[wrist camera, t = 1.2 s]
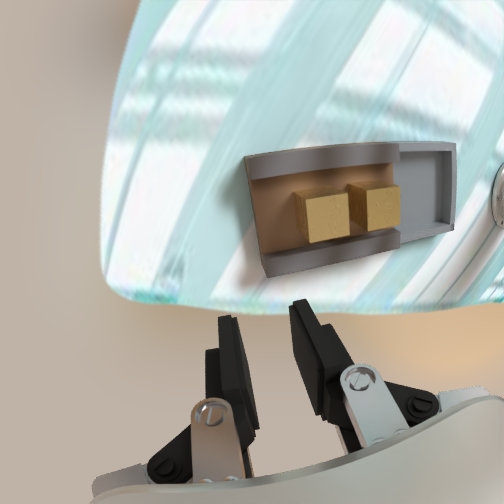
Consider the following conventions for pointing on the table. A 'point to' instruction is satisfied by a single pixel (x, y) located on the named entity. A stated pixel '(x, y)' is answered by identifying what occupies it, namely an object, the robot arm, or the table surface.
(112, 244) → the table surface
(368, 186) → the tan cube
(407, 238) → the tray
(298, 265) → the slot block
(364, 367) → the robot arm
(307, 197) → the golden wooden cube
